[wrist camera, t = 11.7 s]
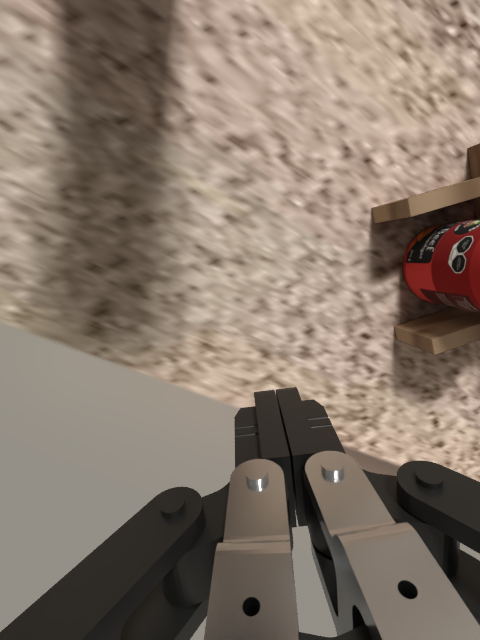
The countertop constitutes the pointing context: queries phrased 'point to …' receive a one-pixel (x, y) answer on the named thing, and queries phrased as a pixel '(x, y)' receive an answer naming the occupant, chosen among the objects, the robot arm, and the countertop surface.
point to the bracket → (454, 322)
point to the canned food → (446, 265)
